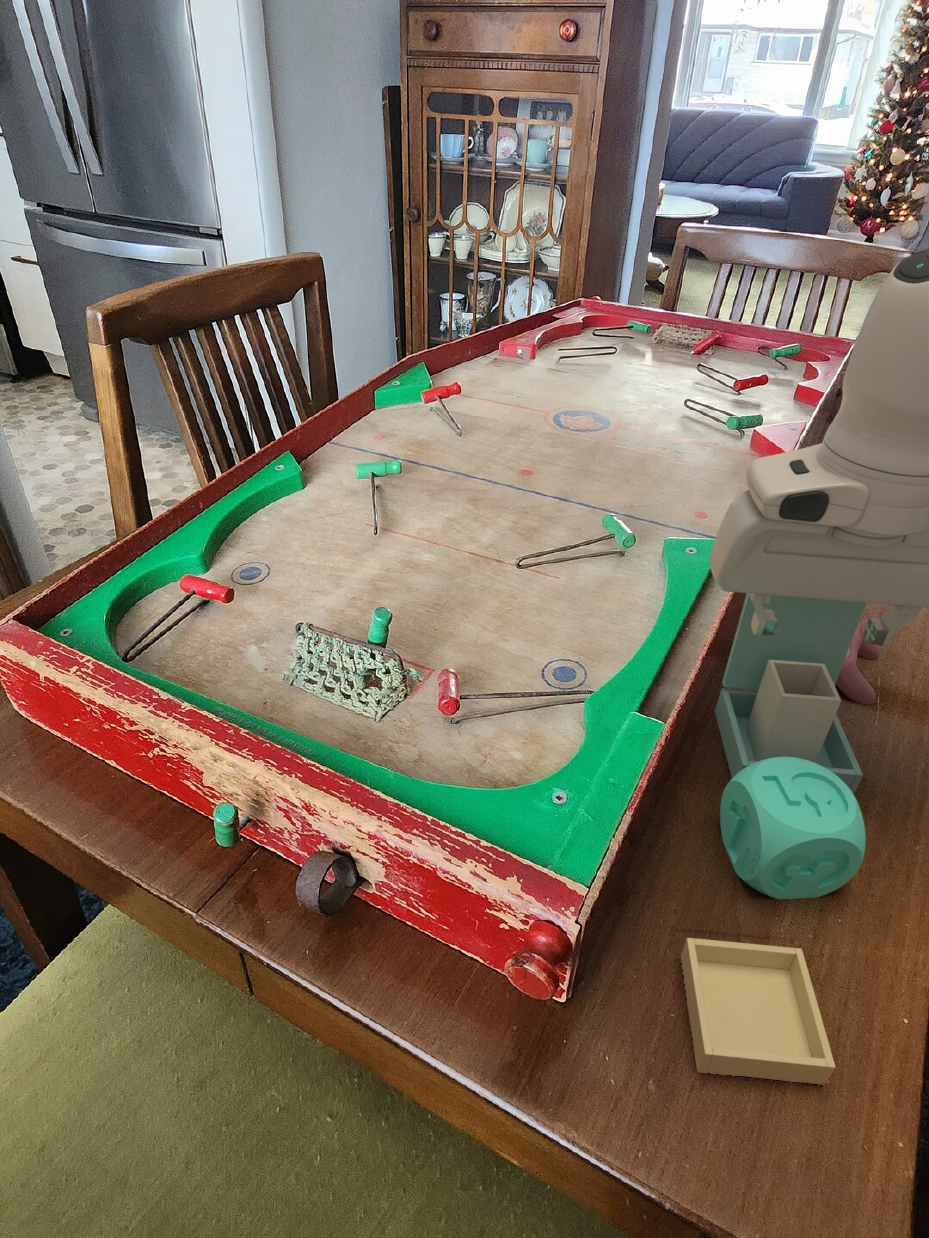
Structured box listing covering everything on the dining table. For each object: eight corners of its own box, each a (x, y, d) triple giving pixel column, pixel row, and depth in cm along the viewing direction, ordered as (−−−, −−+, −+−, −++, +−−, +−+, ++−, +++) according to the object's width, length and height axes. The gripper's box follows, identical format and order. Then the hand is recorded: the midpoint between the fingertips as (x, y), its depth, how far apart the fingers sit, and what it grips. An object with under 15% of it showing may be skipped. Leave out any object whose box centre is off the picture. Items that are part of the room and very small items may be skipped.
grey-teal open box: (850, 803, 69) (863, 775, 67) (733, 793, 69) (742, 764, 67) (817, 723, 77) (828, 696, 75) (713, 715, 78) (721, 687, 76)
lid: (868, 598, 68) (865, 594, 69) (750, 589, 69) (748, 585, 70) (831, 695, 74) (829, 691, 75) (723, 687, 75) (721, 682, 76)
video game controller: (836, 659, 88) (824, 606, 86) (882, 655, 86) (870, 601, 83) (828, 712, 81) (814, 655, 78) (877, 709, 78) (864, 651, 76)
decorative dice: (711, 822, 67) (733, 756, 62) (801, 818, 67) (830, 753, 63) (745, 904, 60) (772, 838, 55) (845, 900, 61) (880, 833, 56)
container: (798, 732, 75) (824, 663, 70) (812, 770, 71) (841, 700, 66) (745, 727, 75) (768, 659, 71) (756, 765, 71) (781, 695, 66)
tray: (792, 967, 56) (802, 948, 55) (824, 1086, 50) (836, 1067, 48) (680, 956, 56) (686, 937, 55) (696, 1072, 50) (705, 1053, 49)
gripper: (999, 479, 60) (929, 624, 68) (728, 459, 61) (691, 605, 69) (1041, 518, 54) (960, 670, 63) (745, 496, 55) (703, 649, 64)
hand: (817, 636), depth 66 cm, fingers open, 8 cm apart
